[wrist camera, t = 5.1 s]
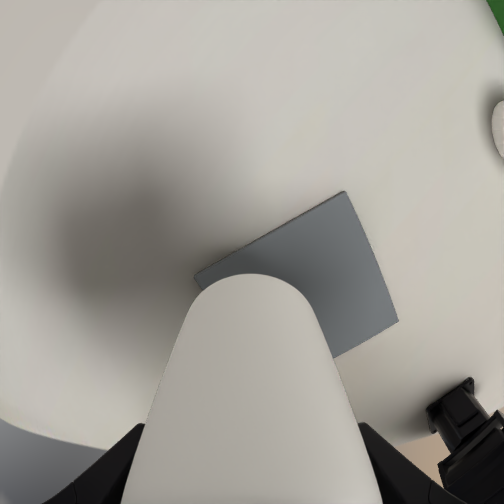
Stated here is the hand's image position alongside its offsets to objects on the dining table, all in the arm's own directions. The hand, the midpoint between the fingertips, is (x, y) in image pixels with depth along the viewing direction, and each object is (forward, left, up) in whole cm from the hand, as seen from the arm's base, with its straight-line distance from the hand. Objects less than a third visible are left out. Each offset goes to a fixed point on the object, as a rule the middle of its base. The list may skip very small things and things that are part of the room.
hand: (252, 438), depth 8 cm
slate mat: (-3, -3, -12) cm, 13 cm away
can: (0, 0, -7) cm, 7 cm away
